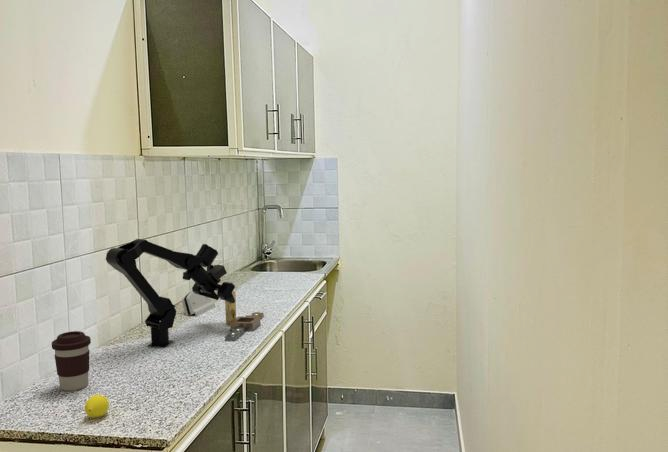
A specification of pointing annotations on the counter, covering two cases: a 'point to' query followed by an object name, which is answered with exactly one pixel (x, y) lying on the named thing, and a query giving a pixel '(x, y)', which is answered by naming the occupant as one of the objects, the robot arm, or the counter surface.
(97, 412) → the lemon
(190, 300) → the light grey block
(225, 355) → the counter surface
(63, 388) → the coffee cup
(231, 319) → the brass pin
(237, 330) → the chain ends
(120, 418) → the counter surface
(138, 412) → the counter surface
